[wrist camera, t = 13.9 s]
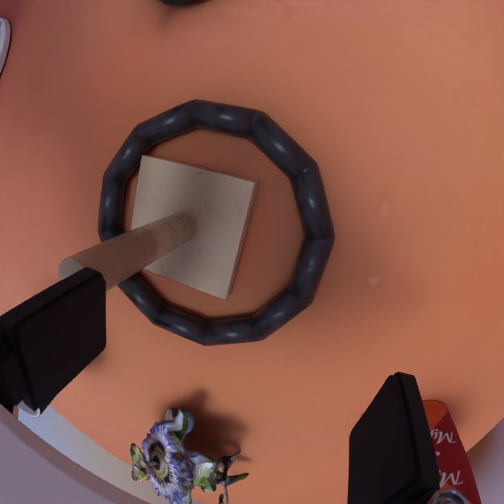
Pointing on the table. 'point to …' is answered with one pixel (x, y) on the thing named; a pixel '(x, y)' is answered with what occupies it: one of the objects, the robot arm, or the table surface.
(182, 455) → the passion flower
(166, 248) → the post
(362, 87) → the table surface
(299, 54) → the table surface
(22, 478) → the robot arm
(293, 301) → the ring
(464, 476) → the paper cup
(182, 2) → the white handled cup
